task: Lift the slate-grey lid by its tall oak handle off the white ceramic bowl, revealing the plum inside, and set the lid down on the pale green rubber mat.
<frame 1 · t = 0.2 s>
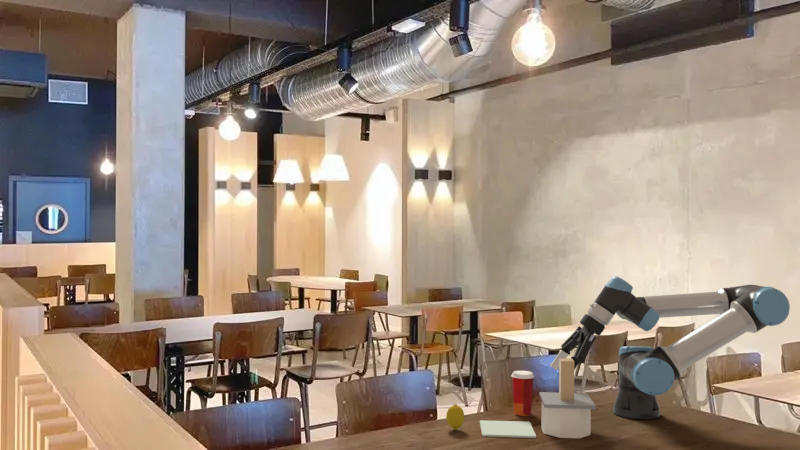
hand: (558, 373, 225), 16 cm above the table, tool tilted 35°, fingers open, 13 cm apart
paper cup: (522, 414, 236), on the table
lemon: (455, 430, 215), on the table
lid: (566, 401, 215), point 9 cm above the table, touching bowl
mat: (506, 429, 216), on the table
plum: (565, 421, 215), point 3 cm above the table, touching bowl
bowl: (565, 431, 215), on the table
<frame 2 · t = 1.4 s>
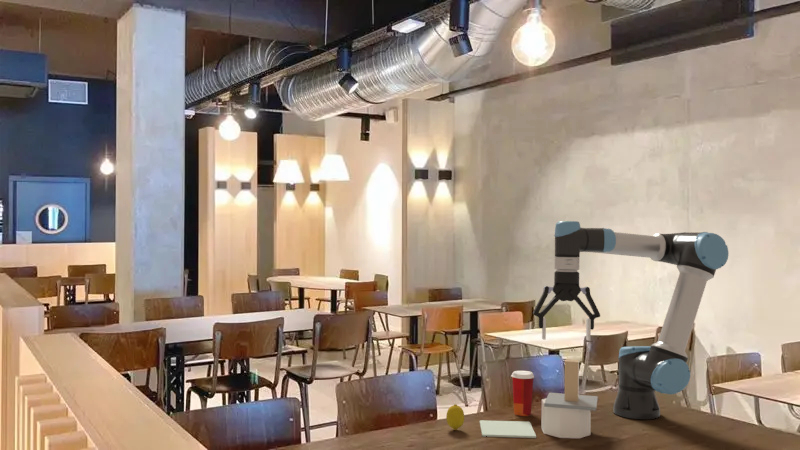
hand: (565, 339, 215), 28 cm above the table, tool pointing down, fingers open, 13 cm apart
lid: (571, 402, 214), point 9 cm above the table, touching bowl
everything else where it was.
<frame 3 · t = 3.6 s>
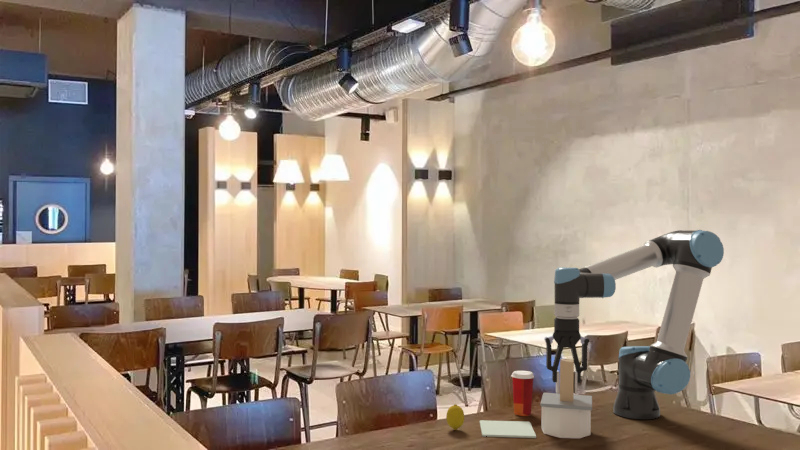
hand: (566, 392, 215), 12 cm above the table, tool pointing down, fingers closed on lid, 5 cm apart
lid: (566, 402, 214), point 9 cm above the table, touching gripper
everything else where it was.
when the fingers open (5 cm above the table, at t = 9.3 s): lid drops 1 cm, resting on mat.
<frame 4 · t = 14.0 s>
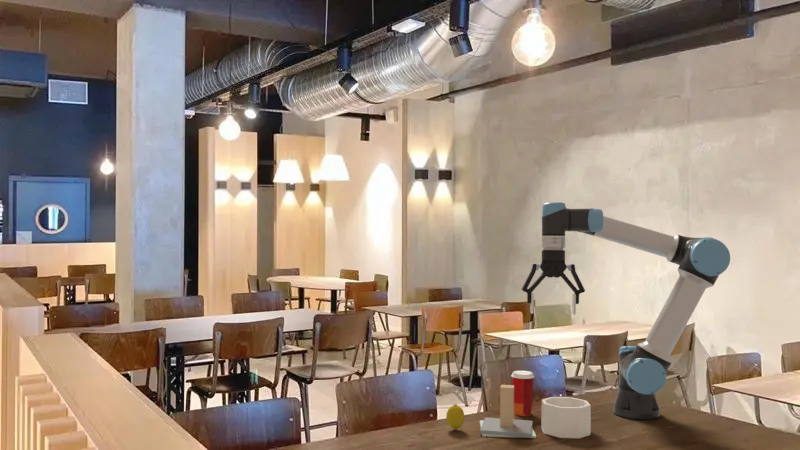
hand: (552, 313, 229), 35 cm above the table, tool pointing down, fingers open, 13 cm apart
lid: (506, 428, 215), point 1 cm above the table, touching mat
everything else where it was.
at the end: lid inside the target area on the mat (0.7 cm from its centre), point 0.6 cm above the mat's base; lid touching mat; the gripper is holding nothing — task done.
